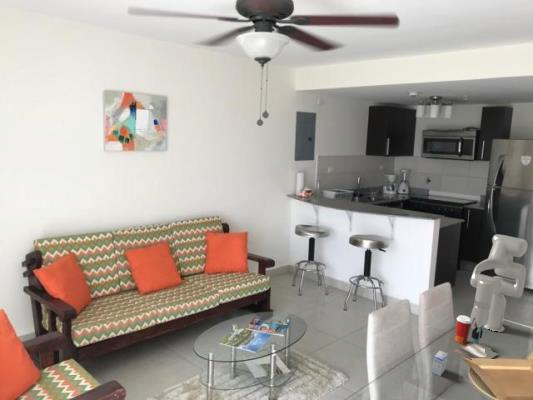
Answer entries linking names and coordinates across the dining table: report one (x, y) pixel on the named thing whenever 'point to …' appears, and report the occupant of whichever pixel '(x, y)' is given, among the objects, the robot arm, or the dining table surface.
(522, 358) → the dining table surface
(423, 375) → the dining table surface
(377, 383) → the dining table surface
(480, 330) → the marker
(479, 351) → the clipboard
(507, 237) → the robot arm
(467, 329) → the paper cup
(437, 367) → the medicine box
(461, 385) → the dining table surface
